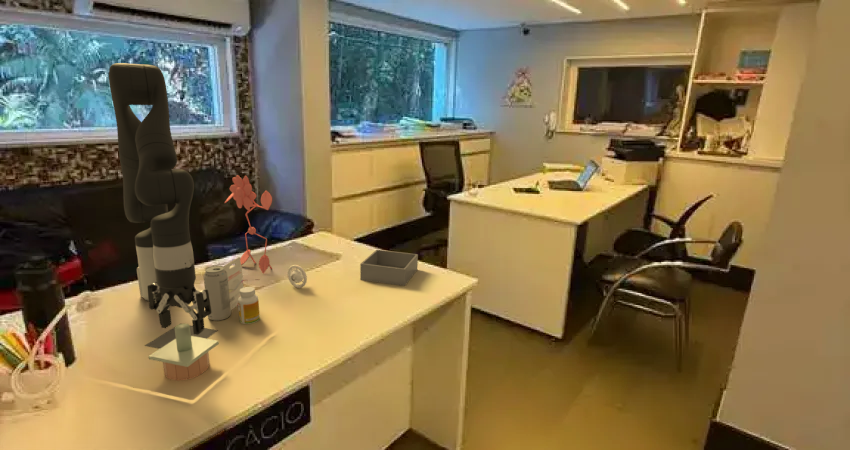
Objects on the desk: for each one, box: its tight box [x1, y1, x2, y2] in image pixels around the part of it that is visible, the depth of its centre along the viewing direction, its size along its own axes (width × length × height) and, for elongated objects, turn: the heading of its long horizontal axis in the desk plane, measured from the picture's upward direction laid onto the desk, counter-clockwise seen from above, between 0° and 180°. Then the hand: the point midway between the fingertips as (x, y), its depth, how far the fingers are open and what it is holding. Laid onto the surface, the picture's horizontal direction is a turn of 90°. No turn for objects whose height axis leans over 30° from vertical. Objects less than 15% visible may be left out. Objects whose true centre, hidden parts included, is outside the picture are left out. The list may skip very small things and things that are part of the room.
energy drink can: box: [203, 265, 232, 322], centre depth 128 cm, size 6×6×15 cm
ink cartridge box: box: [223, 256, 244, 311], centre depth 136 cm, size 9×5×15 cm, turn 169°
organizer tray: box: [359, 249, 419, 287], centre depth 165 cm, size 16×16×6 cm
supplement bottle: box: [237, 286, 261, 325], centre depth 128 cm, size 5×5×10 cm
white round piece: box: [287, 264, 308, 289], centre depth 152 cm, size 8×6×8 cm
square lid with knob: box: [148, 323, 220, 367], centre depth 104 cm, size 10×10×6 cm
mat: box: [144, 324, 219, 350], centre depth 119 cm, size 12×12×1 cm
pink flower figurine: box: [224, 174, 273, 282], centre depth 160 cm, size 15×26×35 cm, turn 57°
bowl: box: [162, 351, 210, 381], centre depth 105 cm, size 9×9×5 cm
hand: (182, 329), depth 103 cm, fingers open, 8 cm apart
